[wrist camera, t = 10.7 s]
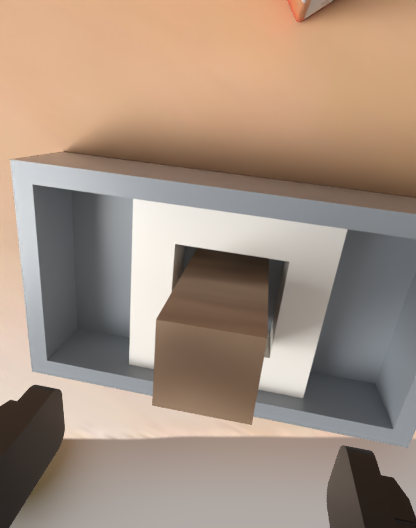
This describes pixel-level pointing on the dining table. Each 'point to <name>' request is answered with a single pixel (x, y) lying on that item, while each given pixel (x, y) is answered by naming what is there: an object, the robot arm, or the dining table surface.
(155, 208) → the walled box
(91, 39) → the dining table surface
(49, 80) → the dining table surface
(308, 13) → the cracker box
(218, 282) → the peg
